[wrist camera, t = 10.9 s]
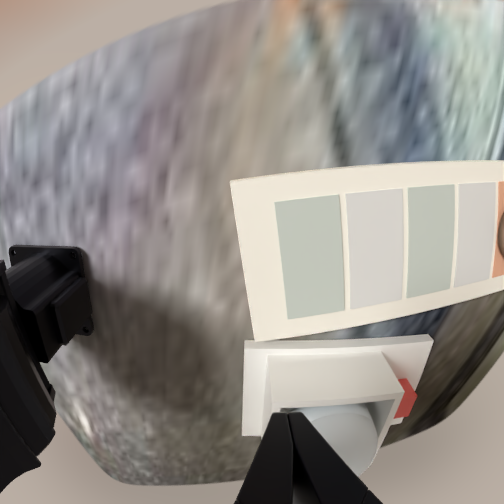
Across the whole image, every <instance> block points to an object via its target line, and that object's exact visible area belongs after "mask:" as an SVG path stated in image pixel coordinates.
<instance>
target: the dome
mask: <svg viewBox="0 0 504 504" xmlns="http://www.w3.org/2000/svg"><path fill="white" fill-rule="evenodd" d="M288 412H302V413H303V414H304V415H305V416H306V417H307V419H308V420H309V421H310V422H311V423H312V425H313V426H314V427H315V428H316V429H317V431H318V432H319V433H320V434H321V435H322V436H323V438H324V439H325V440H326V441H327V442H328V443H329V445H330V446H331V447H332V448H333V449H334V450H335V452H336V453H337V454H338V455H339V456H340V457H341V458H342V460H343V461H344V462H345V463H346V464H347V465H348V466H349V467H350V469H351V470H352V471H353V472H354V473H355V474H356V475H357V476H358V477H359V476H360V475H361V474H362V473H363V472H364V471H365V470H366V469H367V468H368V467H369V465H370V464H371V462H372V461H373V458H374V456H375V454H376V450H377V443H378V437H377V431H376V428H375V425H374V422H373V420H372V418H371V415H370V413H369V410H368V408H367V406H366V404H365V403H356V404H346V405H334V406H319V407H298V408H291V409H290V410H289V411H288ZM288 412H287V413H288Z"/></svg>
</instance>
